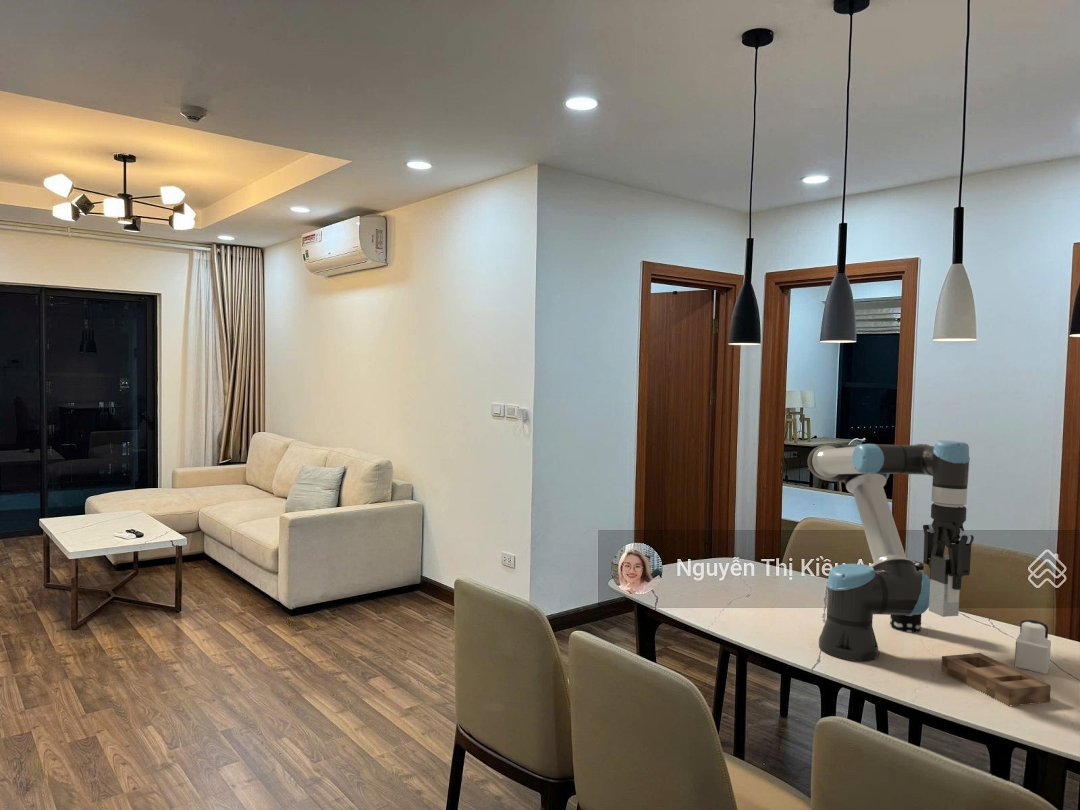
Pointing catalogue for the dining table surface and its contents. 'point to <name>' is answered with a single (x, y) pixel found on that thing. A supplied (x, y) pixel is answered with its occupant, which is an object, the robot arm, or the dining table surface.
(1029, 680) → the wooden compartment tray
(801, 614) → the dining table surface
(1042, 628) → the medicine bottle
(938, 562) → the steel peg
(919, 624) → the spotted tube
